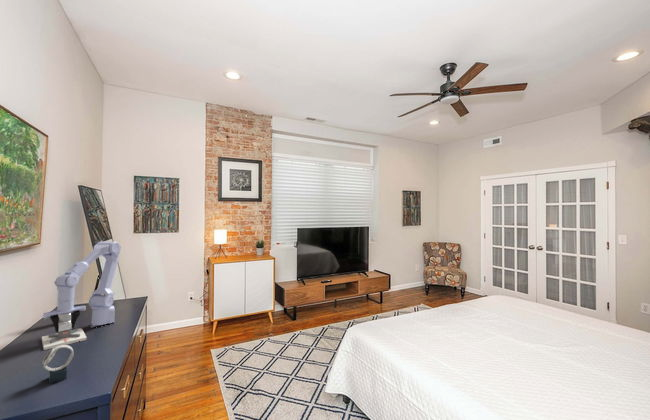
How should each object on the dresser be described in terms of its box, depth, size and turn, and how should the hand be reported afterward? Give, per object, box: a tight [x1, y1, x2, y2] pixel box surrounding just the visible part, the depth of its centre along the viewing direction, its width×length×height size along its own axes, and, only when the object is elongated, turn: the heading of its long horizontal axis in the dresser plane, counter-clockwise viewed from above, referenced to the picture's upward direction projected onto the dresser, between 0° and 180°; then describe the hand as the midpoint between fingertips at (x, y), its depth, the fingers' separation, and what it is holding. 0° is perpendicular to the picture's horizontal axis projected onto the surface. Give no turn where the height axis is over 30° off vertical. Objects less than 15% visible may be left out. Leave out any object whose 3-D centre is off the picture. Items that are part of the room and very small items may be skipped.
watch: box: [41, 344, 75, 385], centre depth 98 cm, size 6×8×11 cm
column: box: [57, 321, 73, 333], centre depth 129 cm, size 4×4×6 cm
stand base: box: [41, 327, 88, 351], centre depth 129 cm, size 14×16×4 cm
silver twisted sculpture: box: [58, 292, 76, 323], centre depth 151 cm, size 6×7×20 cm
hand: (64, 329), depth 129 cm, fingers closed on column, 5 cm apart
